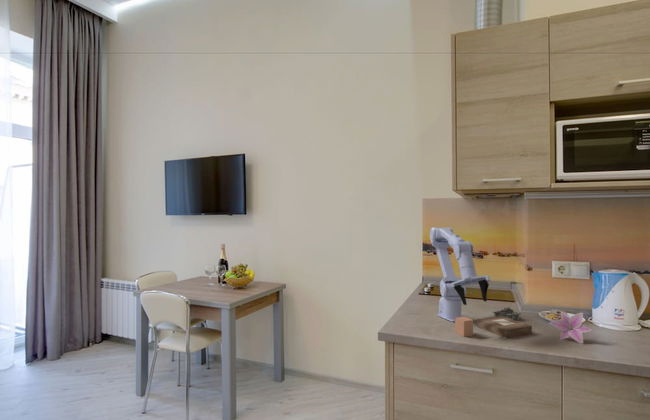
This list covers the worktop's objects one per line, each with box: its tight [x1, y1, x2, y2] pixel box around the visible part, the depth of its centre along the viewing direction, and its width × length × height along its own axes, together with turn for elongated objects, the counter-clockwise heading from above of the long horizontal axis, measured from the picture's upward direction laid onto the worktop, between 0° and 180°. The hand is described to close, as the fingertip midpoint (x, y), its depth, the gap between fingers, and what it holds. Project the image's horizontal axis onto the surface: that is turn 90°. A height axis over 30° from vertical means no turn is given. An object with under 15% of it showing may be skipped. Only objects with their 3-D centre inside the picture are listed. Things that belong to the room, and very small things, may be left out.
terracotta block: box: [454, 316, 474, 338], centre depth 138 cm, size 5×5×6 cm
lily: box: [549, 311, 592, 344], centre depth 135 cm, size 12×12×10 cm
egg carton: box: [492, 306, 522, 321], centre depth 159 cm, size 11×8×4 cm
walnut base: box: [476, 316, 533, 339], centre depth 143 cm, size 14×14×3 cm
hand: (474, 302), depth 136 cm, fingers open, 7 cm apart
